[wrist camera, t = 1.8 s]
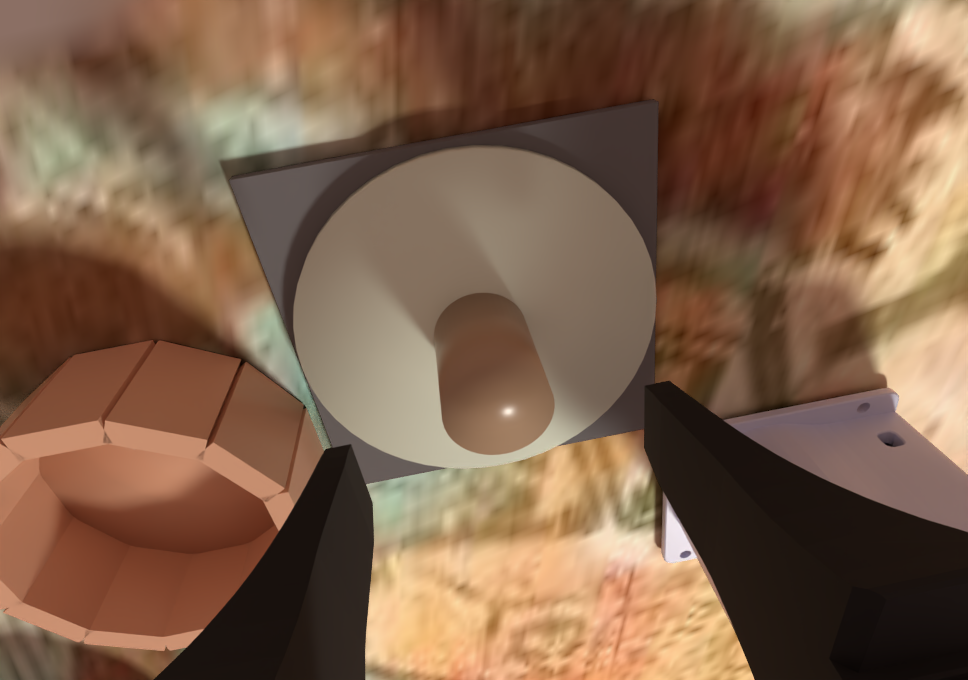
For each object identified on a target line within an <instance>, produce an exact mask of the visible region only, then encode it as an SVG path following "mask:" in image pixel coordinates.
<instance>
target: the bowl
mask: <svg viewBox="0 0 968 680" xmlns="http://www.w3.org/2000/svg"><path fill="white" fill-rule="evenodd" d="M240 362H241V359H238V358H234V357H229V356H225V355H221V354H216V353H212V352H208V351H204V350H199V349H195V348H191V347H186V346H182V345H178V344H173V343H169V342H165V341H160V340H159V341H158V342H157V344H156V345H155V343H154V341H153V340H150V341H145V342H140V343H134V344H129V345H124V346H119V347H113V348H108V349H103V350H97V351H92V352H87V353H82V354H76V355H74V356H73V357H72V358H70V357H69V358H68V359H67V360H66V361H65V362H64V363H63V364H62V365H61V366H60V367H59V368H58V369H57V370H56V371H54V372H53V373H52V374H51V375H50V376H49V377H48V378H47V379H46V380H45V381H44V382H43V383H42V384H41V385H40V386H39V387H38V388H37V389H36V390H34V391H33V392H32V393H31V394H30V395H29V396H28V397H27V398H26V399H25V400H24V401H23V402H22V403H21V404H20V405H19V407H18V408H17V409H16V410H15V411H14V412H13V413H12V414H11V415H10V417H9V418H8V419H7V420H6V421H5V422H4V423H3V424H2V425H1V427H0V609H5V608H6V609H5V611H4V612H3V613H6V614H8V615H11V616H13V617H16V618H18V619H21V620H23V621H26V622H28V623H31V624H33V625H36V626H38V627H41V628H43V629H46V630H48V631H51V632H53V633H56V634H58V635H61V636H63V637H66V638H68V639H71V640H74V641H76V642H80V641H81V640H83V639H84V638H85V639H84V644H92V645H103V646H115V647H126V648H137V649H148V650H159V651H165V648H166V647H167V648H168V649H169V650H170V651H171V650H175V649H180V648H185V647H188V646H189V644H190V643H191V642H192V641H193V640H194V639H195V638H196V637H197V636H198V635H199V634H200V633H201V632H202V631H203V630H204V629H205V627H206V626H207V625H208V624H209V623H210V622H211V621H212V619H213V618H214V617H215V616H216V615H217V614H218V613H219V612H220V610H221V609H222V608H223V607H224V606H225V605H226V603H227V602H228V601H229V600H230V599H231V597H232V596H233V595H234V594H235V593H236V591H237V590H238V589H239V587H240V586H241V585H242V584H243V582H244V581H245V580H246V578H247V577H248V576H249V574H250V573H251V572H252V570H253V569H254V568H255V566H256V565H257V563H258V562H259V561H260V559H261V558H262V556H263V555H264V553H265V552H266V550H267V549H268V547H269V546H270V544H271V543H272V541H273V540H274V538H275V537H276V535H277V533H278V532H279V530H280V529H281V527H282V526H283V524H284V522H285V521H286V519H287V517H288V516H289V514H290V512H291V511H292V509H293V507H294V505H295V504H296V502H297V500H298V499H299V497H300V495H301V493H302V491H303V490H304V488H305V486H306V484H307V482H308V480H309V479H310V477H311V475H312V473H313V471H314V469H315V467H316V465H317V463H318V461H319V459H320V458H321V456H322V454H323V452H324V450H323V448H322V445H321V443H320V440H319V438H318V435H317V433H316V430H315V428H314V426H313V423H312V421H311V418H310V416H309V413H308V411H307V408H305V409H303V406H304V405H303V404H302V403H301V402H299V401H298V400H297V399H295V398H294V397H293V396H291V395H290V394H289V393H287V392H286V391H285V390H283V389H282V388H281V387H279V386H278V385H277V384H275V383H274V382H273V381H271V380H270V379H269V378H267V377H266V376H265V375H263V374H262V373H261V372H259V371H258V370H257V369H255V368H254V367H253V366H251V365H250V364H249V363H247V362H245V363H244V364H243V365H241V366H240ZM239 366H240V367H239Z"/></svg>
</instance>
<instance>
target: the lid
mask: <svg viewBox="0 0 968 680" xmlns="http://www.w3.org/2000/svg"><path fill="white" fill-rule="evenodd" d="M656 301H657V299H656V283H655V276H654V272H653V267H652V262H651V259H650V256H649V253H648V251H647V248H646V246H645V243H644V240H643V238H642V237H641V235H640V233H639V231H638V230H637V228H636V226H635V225H634V223H633V221H632V220H631V218H630V217H629V216H628V215H627V214H626V212H625V211H624V210H623V209H622V207H621V206H620V205H619V204H618V202H617V201H616V200H615V199H614V198H613V197H612V196H610V195H609V194H608V193H607V192H606V191H605V190H604V189H603V188H602V187H601V186H599V185H598V184H597V183H596V182H595V181H594V180H592V179H591V178H589V177H588V176H586V175H585V174H583V173H582V172H580V171H579V170H577V169H576V168H574V167H572V166H570V165H568V164H566V163H563V162H561V161H559V160H557V159H555V158H553V157H550V156H547V155H543V154H540V153H537V152H534V151H530V150H527V149H521V148H514V147H508V146H501V145H469V146H460V147H452V148H445V149H441V150H437V151H433V152H429V153H426V154H422V155H419V156H416V157H414V158H411V159H409V160H406V161H404V162H401V163H399V164H396V165H394V166H392V167H391V168H389V169H387V170H385V171H384V172H382V173H380V174H378V175H377V176H375V177H373V178H372V179H370V180H369V181H368V182H366V183H365V184H364V185H362V186H361V187H360V188H359V189H357V190H356V191H355V192H353V193H352V194H351V195H350V196H349V197H348V198H347V199H346V200H345V201H344V202H343V203H342V204H341V205H340V206H339V207H338V208H337V209H336V210H335V211H334V212H333V214H332V215H331V216H330V218H329V219H328V220H327V222H326V223H325V225H324V226H323V227H322V229H321V230H320V232H319V233H318V235H317V237H316V239H315V241H314V243H313V245H312V246H311V248H310V250H309V252H308V254H307V257H306V260H305V263H304V266H303V269H302V272H301V275H300V278H299V281H298V284H297V289H296V295H295V301H294V310H293V330H294V337H295V344H296V350H297V353H298V357H299V360H300V363H301V366H302V369H303V372H304V374H305V376H306V378H307V380H308V382H309V384H310V386H311V388H312V390H313V391H314V393H315V394H316V396H317V397H318V399H319V400H320V402H321V403H322V404H323V406H324V407H325V408H326V409H327V410H328V411H329V412H330V413H331V415H332V416H333V417H334V418H335V419H336V420H337V421H338V422H339V423H341V424H342V425H343V426H344V427H345V428H346V429H348V430H349V431H350V432H351V433H352V434H354V435H355V436H357V437H359V438H360V439H362V440H363V441H365V442H366V443H368V444H369V445H371V446H373V447H375V448H377V449H379V450H381V451H383V452H385V453H388V454H391V455H393V456H396V457H399V458H401V459H404V460H408V461H412V462H416V463H420V464H423V465H430V466H437V467H444V468H482V467H490V466H497V465H503V464H508V463H512V462H516V461H520V460H524V459H527V458H529V457H532V456H535V455H538V454H541V453H543V452H545V451H548V450H550V449H552V448H554V447H556V446H558V445H560V444H562V443H564V442H566V441H567V440H569V439H571V438H572V437H574V436H576V435H577V434H579V433H580V432H582V431H583V430H584V429H586V428H587V427H588V426H590V425H591V424H592V423H594V422H595V421H596V420H597V419H598V418H599V417H601V416H602V415H603V414H604V413H605V412H606V411H607V410H608V409H609V408H610V407H611V406H612V405H613V404H614V403H615V401H616V400H617V399H618V398H619V397H620V396H621V395H622V393H623V392H624V391H625V389H626V388H627V386H628V385H629V383H630V382H631V380H632V379H633V378H634V376H635V374H636V372H637V370H638V368H639V366H640V365H641V363H642V361H643V359H644V356H645V353H646V351H647V348H648V345H649V343H650V340H651V336H652V331H653V327H654V322H655V313H656Z"/></svg>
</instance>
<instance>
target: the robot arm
mask: <svg viewBox="0 0 968 680" xmlns="http://www.w3.org/2000/svg"><path fill="white" fill-rule="evenodd" d="M898 401H899V396H898V394H897V393H896V392H895V391H893V390H892V389H890V388H882V389H877V390H872V391H867V392H862V393H857V394H852V395H846V396H841V397H836V398H831V399H826V400H821V401H816V402H811V403H806V404H801V405H796V406H791V407H786V408H781V409H776V410H771V411H766V412H761V413H756V414H751V415H746V416H741V417H736V418H731V419H726V420H722V419H721V418H719V417H718V416H716V415H715V414H714V413H712V412H711V411H709V410H708V409H707V408H705V407H704V406H703V405H701V404H700V403H699V402H697V401H696V400H694V399H693V398H692V397H690V396H689V395H688V394H686V393H685V392H684V391H682V390H681V389H680V388H678V387H677V386H675V385H674V384H673V383H671V382H670V381H666V382H661V383H656V384H651V385H645V386H644V448H645V451H646V453H647V456H648V458H649V461H650V463H651V466H652V468H653V471H654V473H655V476H656V478H657V480H658V483H659V485H660V487H661V488H662V490H663V512H662V548H661V553H662V556H663V558H664V560H665V561H666V562H669V563H676V562H681V561H686V560H690V559H695V558H697V559H698V561H699V563H700V565H701V567H702V569H703V571H704V572H705V574H706V576H707V578H708V580H709V582H710V584H711V586H712V588H713V590H714V592H715V594H716V596H717V598H718V600H719V602H720V603H721V605H722V607H723V609H724V611H725V613H726V615H727V617H728V619H729V621H730V623H731V625H732V627H733V629H734V631H735V633H736V635H737V637H738V640H739V642H740V644H741V647H742V649H743V652H744V654H745V656H746V659H747V661H748V664H749V666H750V669H751V671H752V674H753V676H754V679H755V680H968V475H967V474H966V473H965V472H964V471H963V470H962V469H961V468H959V467H958V466H957V465H956V464H955V463H954V462H952V461H951V460H950V459H949V458H948V457H947V456H946V455H944V454H943V453H942V452H941V451H940V450H939V449H937V448H936V447H935V446H934V445H933V444H932V443H931V442H929V441H928V440H927V439H926V438H925V437H924V436H922V435H921V434H920V433H919V432H918V431H917V430H916V429H914V428H913V427H912V426H911V425H910V424H909V423H908V422H906V421H905V420H904V419H903V418H902V417H901V416H899V415H898V414H897V413H896V412H895V411H896V407H897V404H898ZM373 547H374V529H373V504H372V500H371V497H370V495H369V492H368V489H367V486H366V484H365V481H364V478H363V475H362V473H361V470H360V467H359V465H358V462H357V459H356V456H355V454H354V451H353V448H352V445H351V444H349V445H344V446H339V447H334V448H329V449H326V450H325V451H324V452H323V454H322V456H321V458H320V459H319V461H318V463H317V465H316V467H315V469H314V471H313V473H312V475H311V477H310V479H309V480H308V482H307V484H306V486H305V488H304V490H303V491H302V493H301V495H300V497H299V499H298V500H297V502H296V504H295V505H294V507H293V509H292V511H291V512H290V514H289V516H288V517H287V519H286V521H285V522H284V524H283V526H282V527H281V529H280V530H279V532H278V533H277V535H276V537H275V538H274V540H273V541H272V543H271V544H270V546H269V547H268V549H267V550H266V552H265V553H264V555H263V556H262V558H261V559H260V561H259V562H258V563H257V565H256V566H255V568H254V569H253V570H252V572H251V573H250V574H249V576H248V577H247V578H246V580H245V581H244V582H243V584H242V585H241V586H240V587H239V589H238V590H237V591H236V593H235V594H234V595H233V596H232V597H231V599H230V600H229V601H228V602H227V603H226V605H225V606H224V607H223V608H222V609H221V610H220V612H219V613H218V614H217V615H216V616H215V617H214V618H213V619H212V621H211V622H210V623H209V624H208V625H207V626H206V627H205V629H204V630H203V631H202V632H201V633H200V634H199V635H198V636H197V637H196V638H195V639H194V640H193V641H192V642H191V643H190V644H189V646H188V647H187V648H186V649H185V650H184V651H183V652H182V653H181V654H180V655H179V656H178V657H177V658H176V659H175V660H174V661H173V662H172V663H170V664H169V665H168V666H167V667H166V668H165V669H164V670H163V671H162V672H161V673H160V674H159V675H158V676H157V677H156V678H155V679H154V680H365V642H366V626H367V615H368V604H369V593H370V582H371V571H372V559H373Z"/></svg>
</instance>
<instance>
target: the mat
mask: <svg viewBox="0 0 968 680" xmlns="http://www.w3.org/2000/svg"><path fill="white" fill-rule="evenodd" d="M469 145H501V146H508V147H514V148H521V149H527V150H530V151H534V152H537V153H540V154H543V155H547V156H550V157H553V158H555V159H557V160H559V161H561V162H563V163H566V164H568V165H570V166H572V167H574V168H576V169H577V170H579V171H580V172H582V173H583V174H585V175H586V176H588V177H589V178H591V179H592V180H594V181H595V182H596V183H597V184H598V185H599V186H601V187H602V188H603V189H604V190H605V191H606V192H607V193H608V194H609V195H610V196H612V197H613V198H614V199H615V200H616V201H617V202H618V204H619V205H620V206H621V207H622V209H623V210H624V211H625V212H626V214H627V215H628V216H629V217H630V218H631V220H632V221H633V223H634V225H635V226H636V228H637V230H638V231H639V233H640V235H641V237H642V238H643V240H644V243H645V246H646V248H647V251H648V253H649V256H650V259H651V262H652V267H653V272H654V276H655V283H656V242H657V170H658V101H656V100H654V99H652V100H646V101H641V102H635V103H630V104H624V105H619V106H613V107H608V108H603V109H597V110H592V111H586V112H581V113H575V114H570V115H564V116H559V117H553V118H548V119H542V120H537V121H531V122H526V123H521V124H515V125H510V126H504V127H499V128H493V129H488V130H482V131H477V132H471V133H466V134H460V135H455V136H450V137H444V138H439V139H433V140H428V141H422V142H417V143H411V144H406V145H400V146H395V147H389V148H384V149H378V150H373V151H368V152H362V153H357V154H351V155H346V156H340V157H335V158H329V159H324V160H318V161H313V162H307V163H302V164H296V165H291V166H286V167H280V168H275V169H269V170H264V171H258V172H253V173H247V174H242V175H236V176H232V177H231V178H230V180H229V182H230V185H231V187H232V190H233V192H234V195H235V197H236V200H237V203H238V205H239V208H240V210H241V213H242V215H243V218H244V221H245V223H246V226H247V228H248V231H249V233H250V236H251V239H252V241H253V244H254V246H255V249H256V251H257V254H258V257H259V259H260V262H261V264H262V267H263V269H264V272H265V275H266V277H267V280H268V282H269V285H270V287H271V290H272V293H273V295H274V298H275V300H276V303H277V305H278V308H279V311H280V313H281V316H282V318H283V321H284V323H285V326H286V329H287V331H288V334H289V336H290V339H291V341H292V344H293V346H294V349H295V352H296V354H297V357H298V353H297V350H296V344H295V337H294V330H293V310H294V301H295V295H296V289H297V284H298V281H299V278H300V275H301V272H302V269H303V266H304V263H305V260H306V257H307V254H308V252H309V250H310V248H311V246H312V245H313V243H314V241H315V239H316V237H317V235H318V233H319V232H320V230H321V229H322V227H323V226H324V225H325V223H326V222H327V220H328V219H329V218H330V216H331V215H332V214H333V212H334V211H335V210H336V209H337V208H338V207H339V206H340V205H341V204H342V203H343V202H344V201H345V200H346V199H347V198H348V197H349V196H350V195H351V194H352V193H353V192H355V191H356V190H357V189H359V188H360V187H361V186H362V185H364V184H365V183H366V182H368V181H369V180H370V179H372V178H373V177H375V176H377V175H378V174H380V173H382V172H384V171H385V170H387V169H389V168H391V167H392V166H394V165H396V164H399V163H401V162H404V161H406V160H409V159H411V158H414V157H416V156H419V155H422V154H426V153H429V152H433V151H437V150H441V149H445V148H452V147H460V146H469ZM298 359H299V357H298ZM299 362H300V360H299ZM300 364H301V363H300ZM301 367H302V366H301ZM302 370H303V369H302ZM304 375H305V374H304ZM305 377H306V376H305ZM306 380H307V378H306ZM307 382H308V380H307ZM651 384H655V322H654V327H653V331H652V336H651V340H650V343H649V345H648V348H647V351H646V353H645V356H644V359H643V361H642V363H641V365H640V366H639V368H638V370H637V372H636V374H635V376H634V378H633V379H632V380H631V382H630V383H629V385H628V386H627V388H626V389H625V391H624V392H623V393H622V395H621V396H620V397H619V398H618V399H617V400H616V401H615V403H614V404H613V405H612V406H611V407H610V408H609V409H608V410H607V411H606V412H605V413H604V414H603V415H602V416H601V417H599V418H598V419H597V420H596V421H595V422H594V423H592V424H591V425H590V426H588V427H587V428H586V429H584V430H583V431H582V432H580V433H579V434H577V435H576V436H574V437H572V438H571V439H569V440H567V441H566V442H564V443H562V444H560V445H558V446H561V445H566V444H571V443H576V442H581V441H586V440H591V439H596V438H601V437H606V436H611V435H616V434H621V433H626V432H631V431H636V430H641V429H644V386H645V385H651ZM308 385H309V388H310V390H311V393H312V395H313V398H314V400H315V403H316V406H317V408H318V411H319V413H320V416H321V418H322V421H323V424H324V426H325V429H326V431H327V434H328V436H329V439H330V442H331V444H332V447H333V448H334V447H339V446H344V445H349V444H351V445H352V448H353V451H354V454H355V456H356V459H357V462H358V465H359V467H360V470H361V473H362V475H363V478H364V481H365V484H369V483H374V482H379V481H384V480H389V479H394V478H399V477H404V476H409V475H414V474H419V473H424V472H429V471H434V470H439V469H445V468H444V467H437V466H430V465H423V464H420V463H416V462H412V461H408V460H404V459H401V458H399V457H396V456H393V455H391V454H388V453H385V452H383V451H381V450H379V449H377V448H375V447H373V446H371V445H369V444H368V443H366V442H365V441H363V440H362V439H360V438H359V437H357V436H355V435H354V434H352V433H351V432H350V431H349V430H348V429H346V428H345V427H344V426H343V425H342V424H341V423H339V422H338V421H337V420H336V419H335V418H334V417H333V416H332V415H331V413H330V412H329V411H328V410H327V409H326V408H325V407H324V406H323V404H322V403H321V402H320V400H319V399H318V397H317V396H316V394H315V393H314V391H313V390H312V388H311V386H310V384H309V382H308Z"/></svg>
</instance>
